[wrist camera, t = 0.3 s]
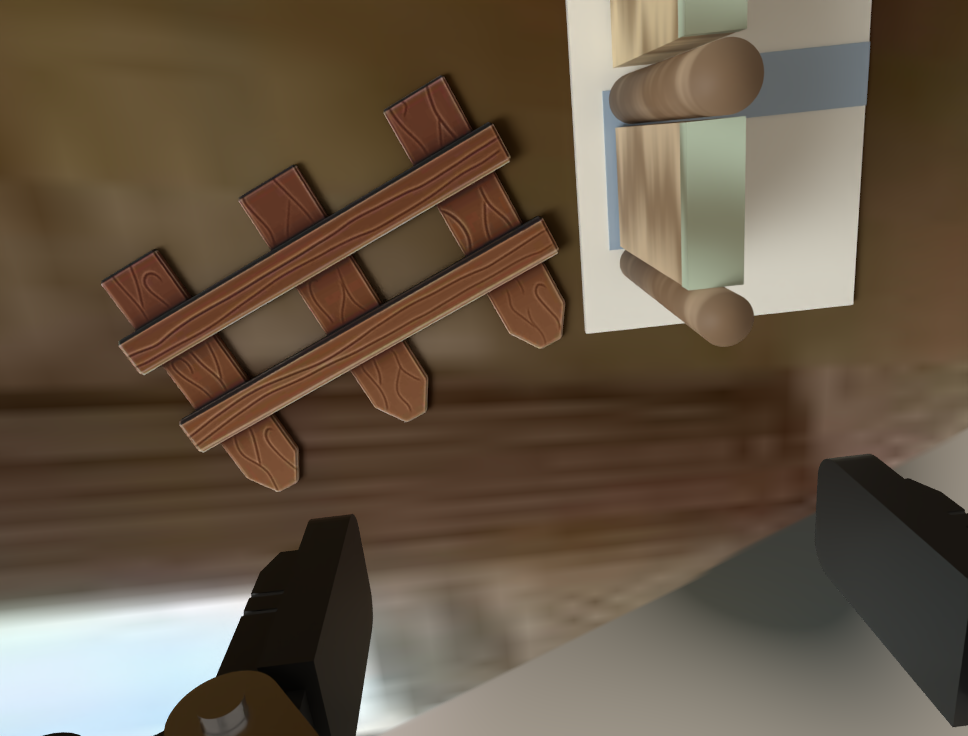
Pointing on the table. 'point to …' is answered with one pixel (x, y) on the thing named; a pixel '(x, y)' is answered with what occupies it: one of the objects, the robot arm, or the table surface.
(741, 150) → the fixed leg
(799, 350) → the table surface
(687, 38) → the gate panel
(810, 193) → the card
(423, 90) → the decorative fence
